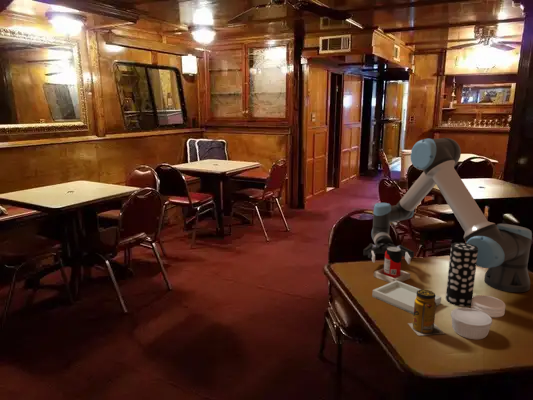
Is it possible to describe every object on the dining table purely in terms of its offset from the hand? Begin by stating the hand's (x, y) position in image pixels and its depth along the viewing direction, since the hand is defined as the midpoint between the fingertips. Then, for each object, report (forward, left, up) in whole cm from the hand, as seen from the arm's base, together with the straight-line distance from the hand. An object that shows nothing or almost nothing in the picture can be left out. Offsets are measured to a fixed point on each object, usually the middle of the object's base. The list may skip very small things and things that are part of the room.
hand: (391, 260), depth 163 cm
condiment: (-31, +25, -7) cm, 40 cm away
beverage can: (-1, 0, -7) cm, 7 cm away
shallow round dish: (-37, -2, -8) cm, 38 cm away
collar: (-1, 0, -7) cm, 7 cm away
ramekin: (-40, +16, -7) cm, 43 cm away
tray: (-16, +13, -7) cm, 21 cm away
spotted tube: (-27, -1, -7) cm, 28 cm away
